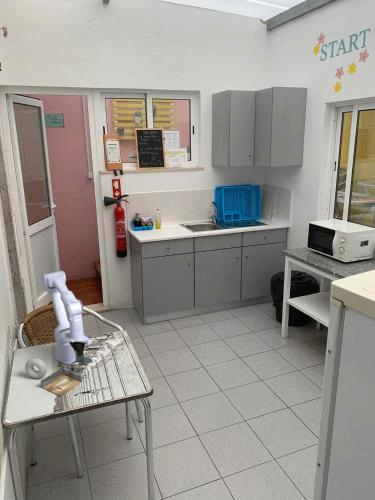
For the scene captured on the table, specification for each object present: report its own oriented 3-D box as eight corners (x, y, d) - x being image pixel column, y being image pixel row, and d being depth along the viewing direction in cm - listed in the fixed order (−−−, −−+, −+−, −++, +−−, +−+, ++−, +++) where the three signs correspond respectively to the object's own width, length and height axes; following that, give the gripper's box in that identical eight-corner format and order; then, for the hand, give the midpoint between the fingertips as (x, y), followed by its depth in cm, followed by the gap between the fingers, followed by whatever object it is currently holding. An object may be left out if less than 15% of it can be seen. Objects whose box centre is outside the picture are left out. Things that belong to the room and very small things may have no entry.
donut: (25, 379, 173) (22, 359, 171) (29, 375, 176) (26, 355, 174) (45, 381, 172) (43, 361, 169) (49, 376, 175) (46, 357, 172)
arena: (41, 387, 167) (40, 380, 166) (64, 374, 176) (63, 367, 176) (60, 396, 160) (59, 389, 160) (82, 382, 170) (81, 374, 169)
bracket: (76, 362, 174) (74, 350, 172) (82, 357, 177) (81, 346, 175) (86, 365, 171) (84, 353, 169) (92, 361, 174) (91, 349, 172)
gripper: (57, 328, 171) (61, 355, 174) (82, 335, 164) (85, 363, 167) (69, 321, 177) (72, 348, 180) (93, 328, 170) (96, 355, 173)
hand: (79, 355), depth 174 cm, fingers closed on bracket
